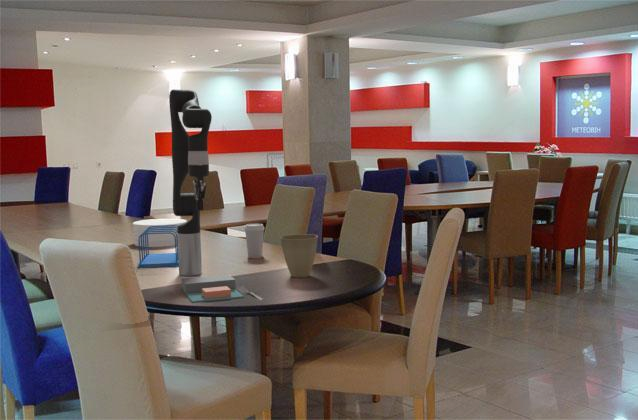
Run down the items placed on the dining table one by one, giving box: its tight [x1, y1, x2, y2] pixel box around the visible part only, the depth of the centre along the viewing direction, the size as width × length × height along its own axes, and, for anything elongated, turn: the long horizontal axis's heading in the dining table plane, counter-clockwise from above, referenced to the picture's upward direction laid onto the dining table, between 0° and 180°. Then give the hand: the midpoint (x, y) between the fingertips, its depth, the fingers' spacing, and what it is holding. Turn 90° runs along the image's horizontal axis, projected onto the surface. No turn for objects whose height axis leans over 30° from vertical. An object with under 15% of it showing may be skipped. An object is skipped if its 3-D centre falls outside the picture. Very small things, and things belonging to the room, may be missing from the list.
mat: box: [185, 288, 244, 303], centre depth 245 cm, size 12×18×1 cm, turn 110°
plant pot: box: [280, 233, 319, 278], centre depth 278 cm, size 15×15×16 cm
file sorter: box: [137, 225, 179, 269], centre depth 313 cm, size 25×17×15 cm
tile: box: [202, 286, 231, 299], centre depth 244 cm, size 6×9×2 cm, turn 112°
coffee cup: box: [243, 223, 266, 259], centre depth 323 cm, size 10×10×15 cm
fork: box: [235, 285, 263, 301], centre depth 246 cm, size 3×24×2 cm, turn 31°
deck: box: [180, 274, 236, 295], centre depth 256 cm, size 10×18×4 cm, turn 110°
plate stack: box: [132, 218, 188, 248], centre depth 370 cm, size 28×28×12 cm
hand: (200, 210), depth 258 cm, fingers closed
